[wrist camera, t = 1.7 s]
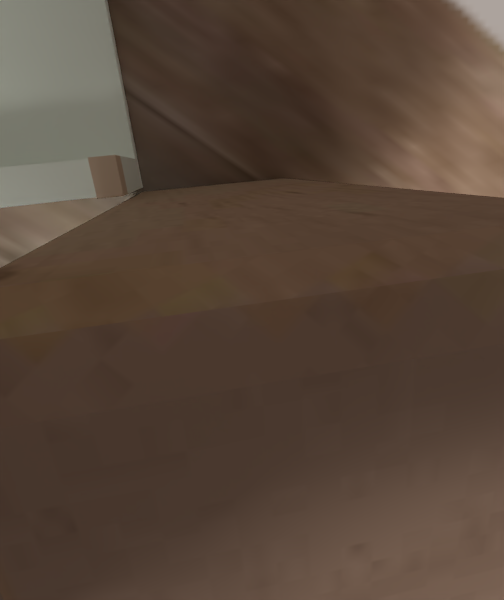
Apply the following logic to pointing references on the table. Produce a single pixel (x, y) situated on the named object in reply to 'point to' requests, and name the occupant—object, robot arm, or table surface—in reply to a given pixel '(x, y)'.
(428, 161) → the table surface
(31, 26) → the pale green tray
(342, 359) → the wooden block
